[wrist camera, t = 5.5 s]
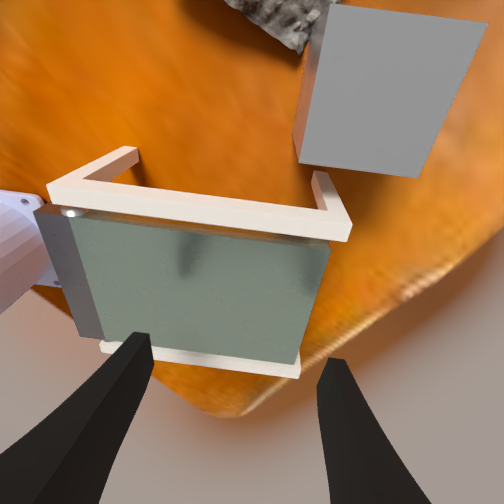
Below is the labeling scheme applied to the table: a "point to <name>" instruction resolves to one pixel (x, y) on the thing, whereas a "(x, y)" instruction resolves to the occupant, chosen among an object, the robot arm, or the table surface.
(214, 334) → the trapdoor plate
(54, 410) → the robot arm
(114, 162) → the miniature coffee table
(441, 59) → the stone block
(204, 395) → the table surface
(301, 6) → the stone fragment
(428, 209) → the table surface
